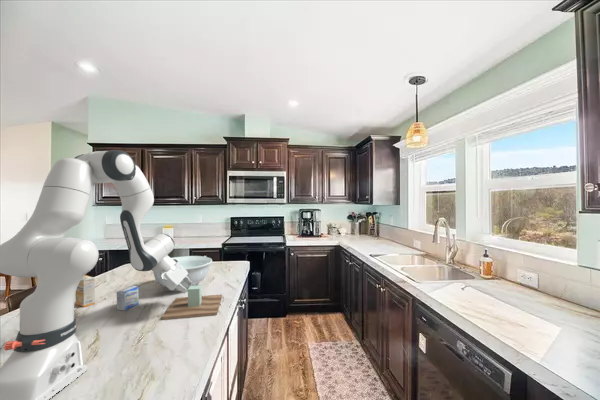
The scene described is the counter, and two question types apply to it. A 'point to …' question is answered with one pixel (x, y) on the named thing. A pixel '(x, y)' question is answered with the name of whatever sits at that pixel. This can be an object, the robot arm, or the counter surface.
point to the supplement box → (86, 291)
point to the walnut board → (193, 308)
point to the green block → (194, 296)
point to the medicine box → (127, 298)
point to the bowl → (191, 269)
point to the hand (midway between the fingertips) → (188, 288)
